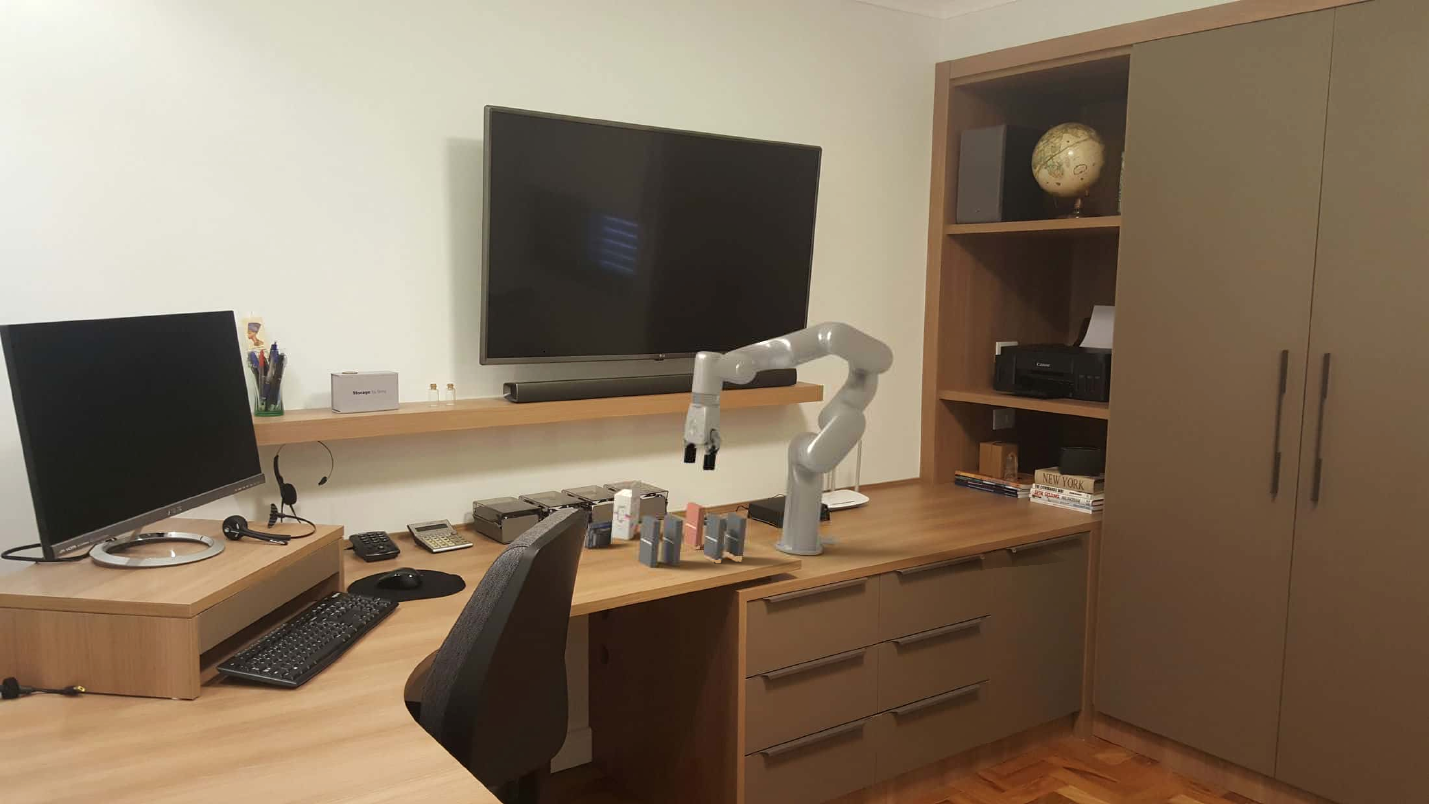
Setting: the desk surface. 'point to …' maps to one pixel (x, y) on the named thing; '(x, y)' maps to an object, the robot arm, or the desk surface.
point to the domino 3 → (694, 524)
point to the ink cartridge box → (626, 512)
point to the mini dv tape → (598, 534)
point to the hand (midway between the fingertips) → (698, 466)
